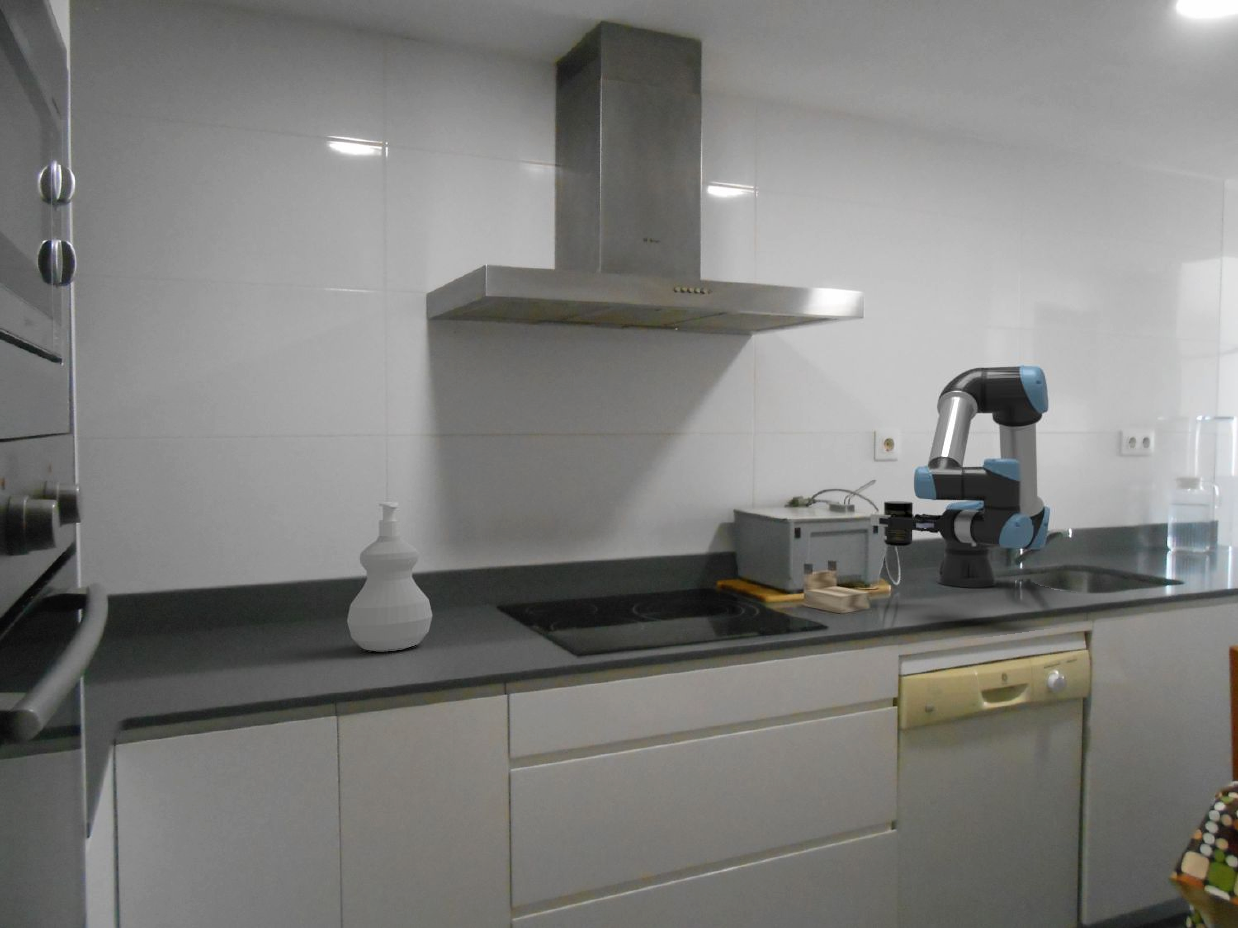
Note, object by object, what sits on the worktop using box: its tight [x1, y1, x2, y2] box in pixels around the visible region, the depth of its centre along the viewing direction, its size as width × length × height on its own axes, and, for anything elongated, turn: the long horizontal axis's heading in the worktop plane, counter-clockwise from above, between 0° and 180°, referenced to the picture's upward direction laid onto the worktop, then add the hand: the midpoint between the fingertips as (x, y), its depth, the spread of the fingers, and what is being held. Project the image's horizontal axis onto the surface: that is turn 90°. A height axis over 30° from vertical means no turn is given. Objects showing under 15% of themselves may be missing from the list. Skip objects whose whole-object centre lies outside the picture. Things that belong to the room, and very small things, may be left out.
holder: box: [803, 559, 871, 614], centre depth 221 cm, size 10×12×10 cm
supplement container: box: [883, 500, 914, 547], centre depth 222 cm, size 7×7×10 cm
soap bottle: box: [346, 501, 433, 650], centre depth 181 cm, size 17×12×29 cm
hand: (881, 518), depth 226 cm, fingers closed on supplement container, 7 cm apart
